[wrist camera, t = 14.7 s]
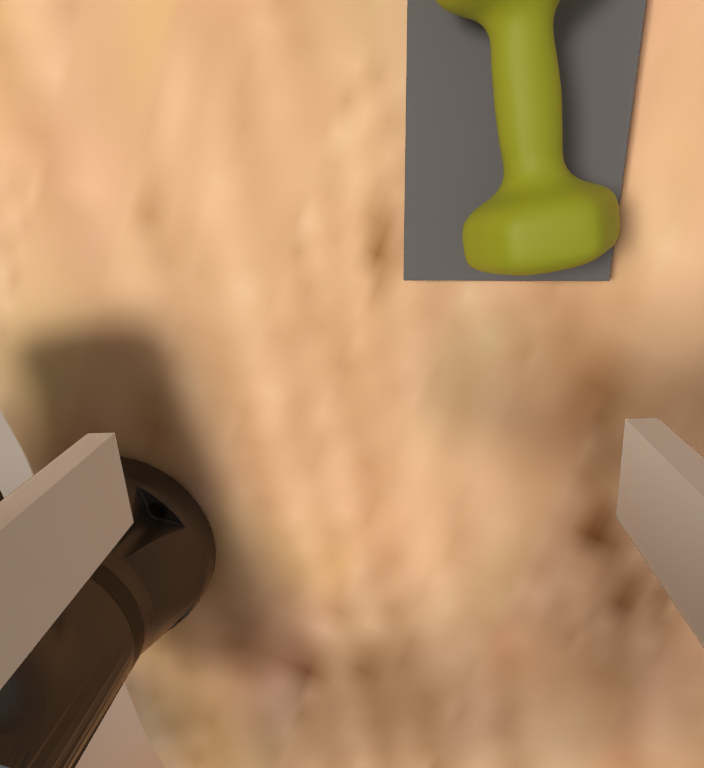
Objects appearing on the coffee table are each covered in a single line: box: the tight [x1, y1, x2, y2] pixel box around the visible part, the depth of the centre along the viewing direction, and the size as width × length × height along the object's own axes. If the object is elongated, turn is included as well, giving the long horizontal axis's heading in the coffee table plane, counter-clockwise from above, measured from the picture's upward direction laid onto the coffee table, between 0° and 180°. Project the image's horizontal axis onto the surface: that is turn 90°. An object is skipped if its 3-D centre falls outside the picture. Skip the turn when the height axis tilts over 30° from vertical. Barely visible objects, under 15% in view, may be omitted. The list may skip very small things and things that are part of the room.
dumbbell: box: [436, 0, 620, 276], centre depth 28 cm, size 16×8×7 cm, turn 11°
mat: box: [404, 0, 646, 281], centre depth 32 cm, size 12×19×2 cm, turn 1°
